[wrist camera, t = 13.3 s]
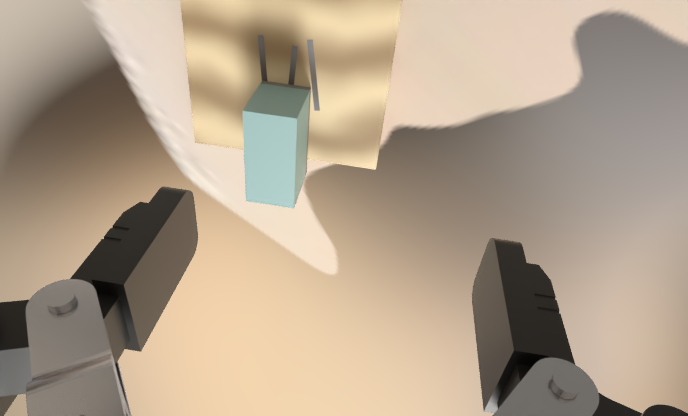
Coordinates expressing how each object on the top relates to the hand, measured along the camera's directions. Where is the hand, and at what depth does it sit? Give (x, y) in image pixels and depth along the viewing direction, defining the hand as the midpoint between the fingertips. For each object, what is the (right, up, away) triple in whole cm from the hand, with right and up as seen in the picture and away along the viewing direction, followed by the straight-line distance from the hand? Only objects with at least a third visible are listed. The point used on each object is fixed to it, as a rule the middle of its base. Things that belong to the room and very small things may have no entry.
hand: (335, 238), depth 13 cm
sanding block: (-5, +8, +33) cm, 34 cm away
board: (-4, +16, +29) cm, 34 cm away
